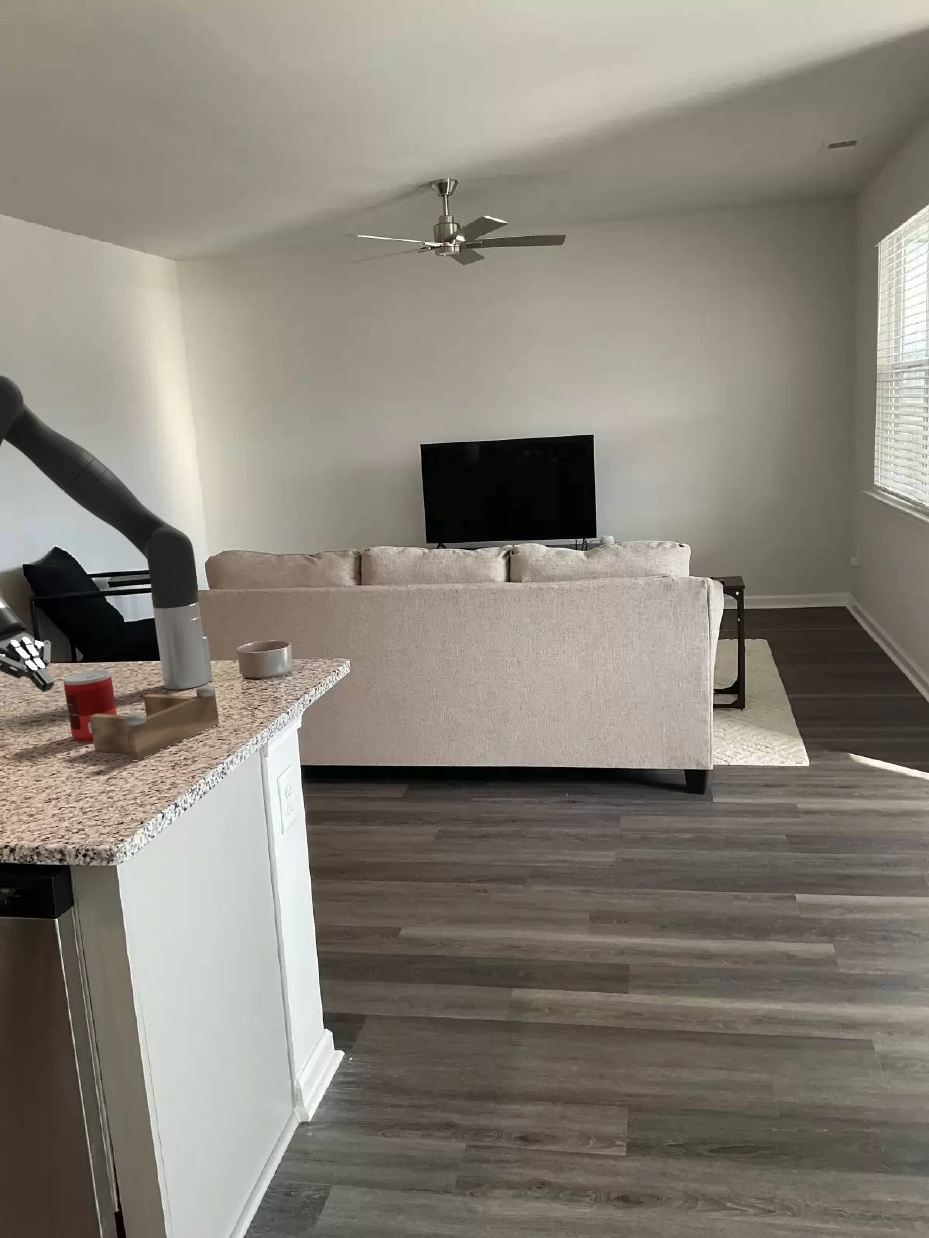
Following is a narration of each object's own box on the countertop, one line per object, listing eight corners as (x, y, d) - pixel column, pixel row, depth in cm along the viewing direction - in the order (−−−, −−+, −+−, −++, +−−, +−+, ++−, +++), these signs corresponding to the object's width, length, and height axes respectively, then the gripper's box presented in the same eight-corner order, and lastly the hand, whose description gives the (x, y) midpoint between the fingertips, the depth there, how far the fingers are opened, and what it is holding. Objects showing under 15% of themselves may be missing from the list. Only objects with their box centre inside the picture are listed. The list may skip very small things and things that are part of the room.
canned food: (128, 729, 179) (119, 670, 177) (98, 743, 171) (89, 681, 169) (93, 728, 181) (84, 669, 179) (63, 742, 174) (53, 681, 172)
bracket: (80, 756, 164) (74, 714, 163) (166, 721, 182) (160, 683, 181) (141, 762, 158) (135, 718, 157) (223, 725, 176) (218, 686, 175)
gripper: (-32, 612, 175) (27, 683, 171) (29, 599, 186) (86, 665, 183) (-48, 641, 178) (10, 711, 175) (14, 626, 190) (69, 692, 186)
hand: (49, 687), depth 179 cm, fingers closed
